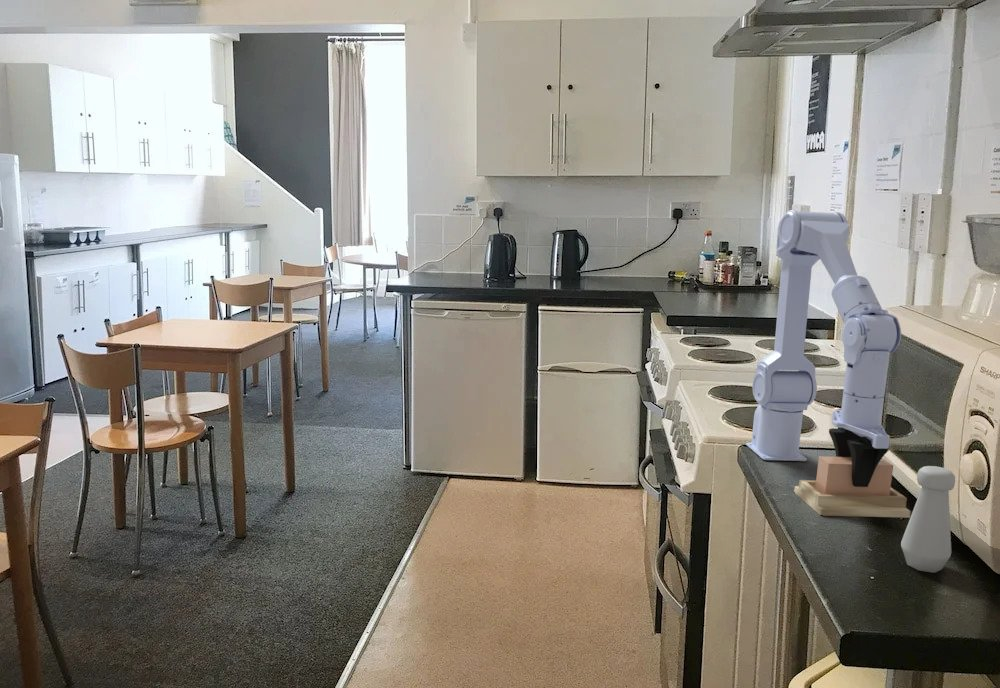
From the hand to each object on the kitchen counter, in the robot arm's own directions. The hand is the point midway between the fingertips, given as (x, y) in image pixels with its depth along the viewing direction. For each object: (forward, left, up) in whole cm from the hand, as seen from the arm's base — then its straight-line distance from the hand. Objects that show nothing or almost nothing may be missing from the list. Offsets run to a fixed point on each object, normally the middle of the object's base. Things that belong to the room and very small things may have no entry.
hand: (852, 480), depth 134 cm
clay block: (0, 0, -3) cm, 3 cm away
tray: (0, 0, -4) cm, 4 cm away
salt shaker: (+22, 0, -4) cm, 22 cm away
